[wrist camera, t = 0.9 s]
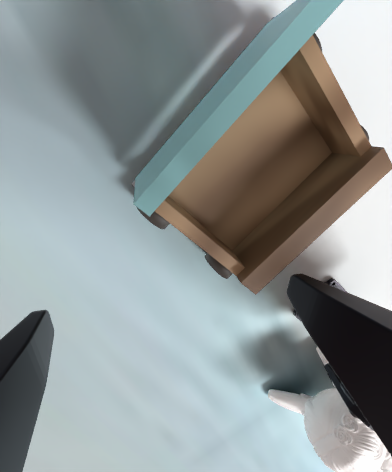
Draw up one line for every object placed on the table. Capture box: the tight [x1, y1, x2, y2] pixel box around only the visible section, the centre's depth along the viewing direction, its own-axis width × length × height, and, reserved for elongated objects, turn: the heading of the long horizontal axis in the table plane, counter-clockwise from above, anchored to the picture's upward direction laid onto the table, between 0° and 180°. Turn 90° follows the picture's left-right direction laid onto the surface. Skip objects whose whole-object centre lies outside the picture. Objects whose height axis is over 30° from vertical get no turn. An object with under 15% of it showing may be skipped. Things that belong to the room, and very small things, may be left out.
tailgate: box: [132, 0, 343, 217], centre depth 14 cm, size 1×14×7 cm, turn 136°
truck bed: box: [137, 33, 392, 294], centre depth 19 cm, size 12×16×6 cm
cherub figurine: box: [268, 346, 392, 472], centre depth 34 cm, size 13×12×20 cm
